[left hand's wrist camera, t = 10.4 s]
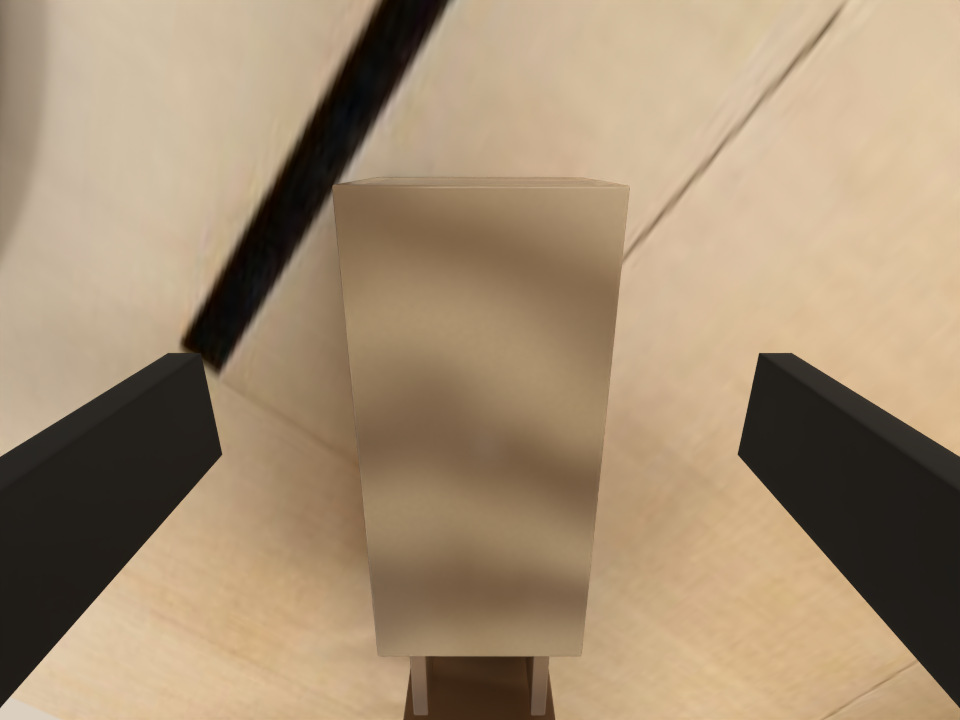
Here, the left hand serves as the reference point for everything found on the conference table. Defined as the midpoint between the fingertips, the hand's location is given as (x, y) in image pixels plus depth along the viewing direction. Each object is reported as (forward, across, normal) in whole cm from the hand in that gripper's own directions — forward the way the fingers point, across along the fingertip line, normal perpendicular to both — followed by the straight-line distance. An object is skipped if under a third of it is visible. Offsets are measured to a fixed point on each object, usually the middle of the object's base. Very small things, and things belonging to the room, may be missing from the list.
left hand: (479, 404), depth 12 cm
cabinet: (+14, 0, -6) cm, 16 cm away
